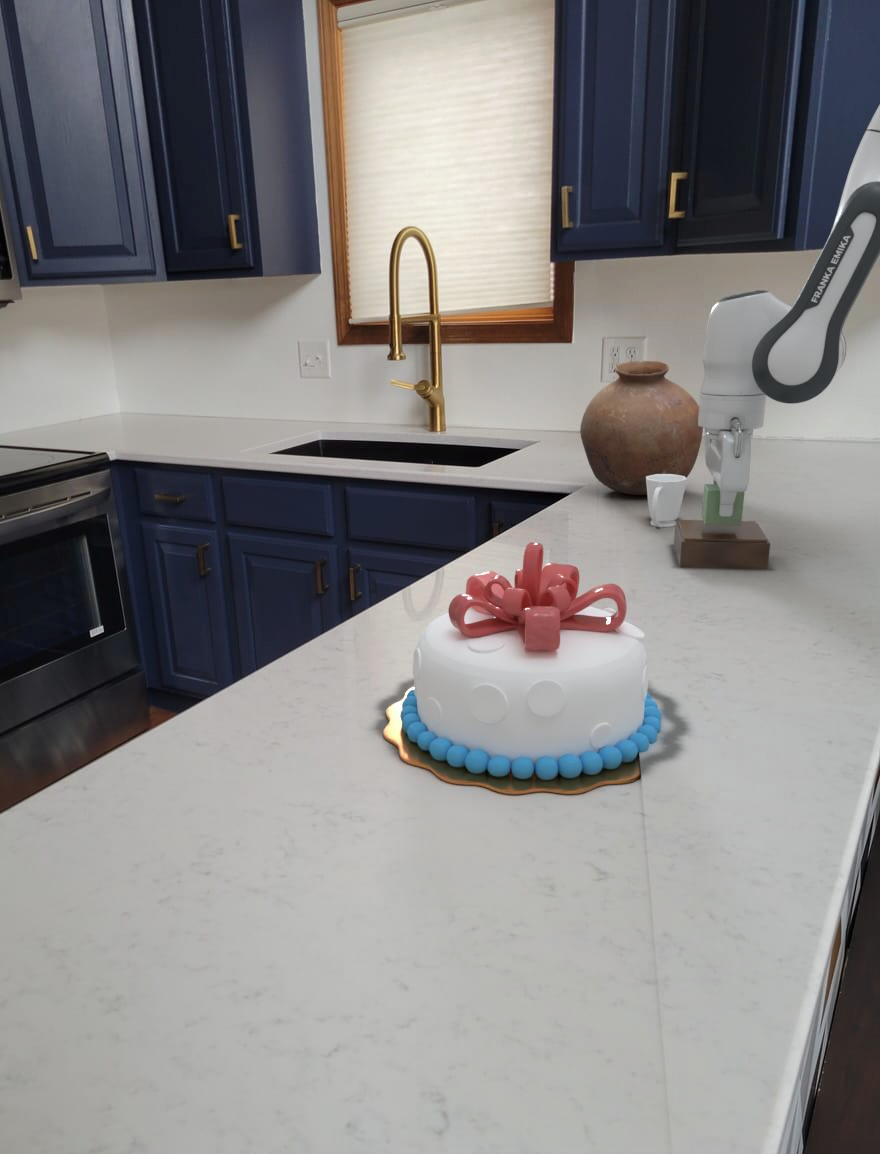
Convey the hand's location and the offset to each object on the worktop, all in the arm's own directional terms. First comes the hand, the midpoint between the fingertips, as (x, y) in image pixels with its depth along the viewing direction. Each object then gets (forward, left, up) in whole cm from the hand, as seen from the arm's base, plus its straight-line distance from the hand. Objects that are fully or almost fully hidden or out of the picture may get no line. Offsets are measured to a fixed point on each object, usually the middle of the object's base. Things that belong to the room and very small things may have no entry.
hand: (722, 510), depth 139 cm
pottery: (+10, -49, -8) cm, 51 cm away
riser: (0, 0, -8) cm, 8 cm away
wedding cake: (+24, +59, -8) cm, 64 cm away
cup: (+7, -22, -8) cm, 24 cm away
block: (0, 0, -2) cm, 2 cm away
